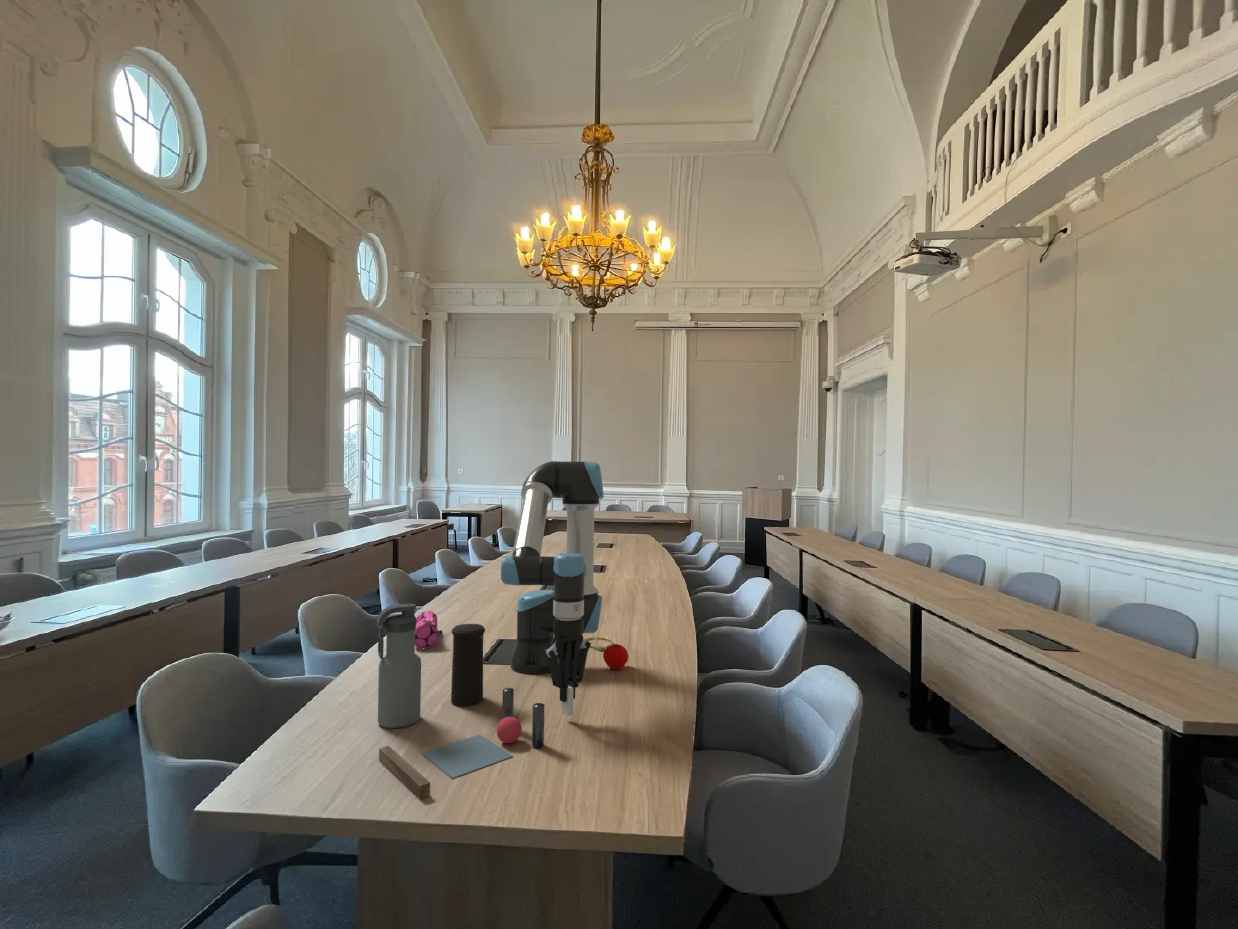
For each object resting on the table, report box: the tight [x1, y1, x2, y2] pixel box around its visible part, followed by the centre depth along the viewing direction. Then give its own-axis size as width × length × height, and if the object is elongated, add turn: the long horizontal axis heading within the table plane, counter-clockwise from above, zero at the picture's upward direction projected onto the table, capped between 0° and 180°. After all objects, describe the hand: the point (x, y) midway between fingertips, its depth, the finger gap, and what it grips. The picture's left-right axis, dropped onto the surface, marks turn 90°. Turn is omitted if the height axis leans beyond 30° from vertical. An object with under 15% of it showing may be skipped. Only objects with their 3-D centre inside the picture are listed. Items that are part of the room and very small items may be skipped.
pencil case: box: [415, 610, 444, 650], centre depth 213 cm, size 21×10×10 cm, turn 20°
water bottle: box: [376, 603, 422, 729], centre depth 145 cm, size 10×10×28 cm
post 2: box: [531, 702, 545, 750], centre depth 132 cm, size 3×3×9 cm
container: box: [450, 623, 486, 707], centre depth 158 cm, size 9×9×20 cm
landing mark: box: [421, 734, 514, 780], centre depth 127 cm, size 14×14×1 cm
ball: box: [496, 716, 522, 744], centre depth 134 cm, size 6×6×6 cm
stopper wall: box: [378, 745, 431, 800], centre depth 118 cm, size 2×20×2 cm, turn 43°
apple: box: [602, 643, 629, 671], centre depth 186 cm, size 8×8×7 cm
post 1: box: [501, 687, 515, 720], centre depth 142 cm, size 3×3×9 cm
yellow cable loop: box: [584, 637, 614, 653], centre depth 211 cm, size 12×16×2 cm
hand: (567, 713), depth 146 cm, fingers closed
